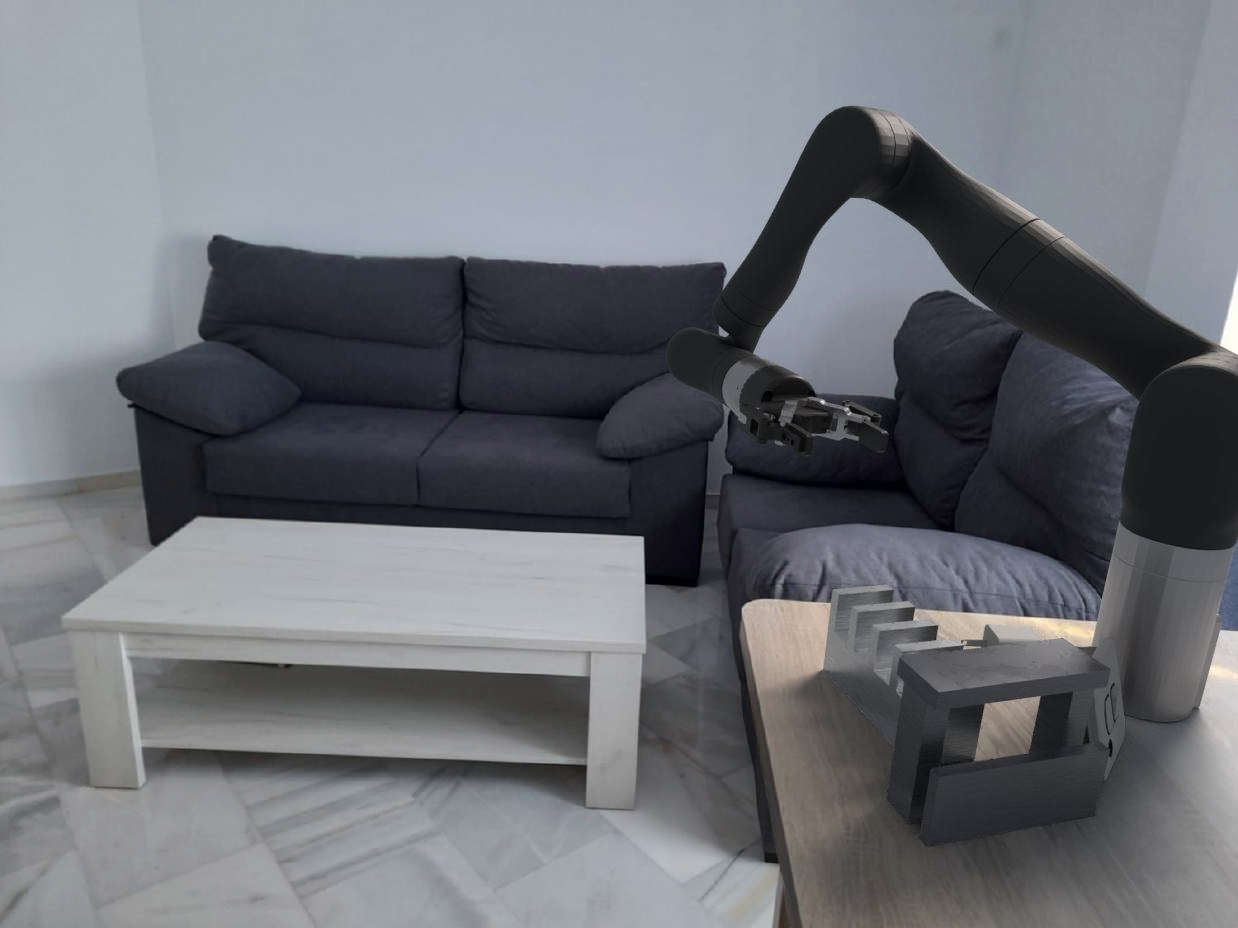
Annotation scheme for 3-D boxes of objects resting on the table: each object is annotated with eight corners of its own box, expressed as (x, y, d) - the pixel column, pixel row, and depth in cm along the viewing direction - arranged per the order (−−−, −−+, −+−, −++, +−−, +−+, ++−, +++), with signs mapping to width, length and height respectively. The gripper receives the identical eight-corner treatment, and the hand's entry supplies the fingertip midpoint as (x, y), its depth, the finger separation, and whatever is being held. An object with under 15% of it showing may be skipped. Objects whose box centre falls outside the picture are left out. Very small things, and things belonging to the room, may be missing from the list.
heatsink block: (876, 664, 90) (887, 584, 87) (974, 759, 75) (991, 666, 72) (822, 670, 88) (832, 589, 86) (912, 769, 74) (928, 674, 71)
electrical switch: (1104, 788, 72) (1115, 684, 70) (1036, 767, 75) (1045, 667, 73) (1125, 737, 79) (1136, 642, 77) (1063, 720, 82) (1071, 628, 80)
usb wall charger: (1037, 678, 88) (1044, 642, 87) (968, 674, 88) (974, 639, 87) (1021, 657, 92) (1027, 623, 91) (954, 654, 92) (960, 620, 91)
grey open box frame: (1036, 764, 74) (1062, 637, 71) (1094, 815, 68) (1126, 679, 65) (879, 789, 70) (899, 657, 67) (927, 846, 64) (951, 703, 61)
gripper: (714, 365, 96) (789, 410, 82) (826, 363, 101) (915, 406, 87) (706, 430, 98) (778, 485, 84) (816, 425, 103) (901, 477, 89)
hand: (847, 445), depth 85 cm, fingers open, 8 cm apart
